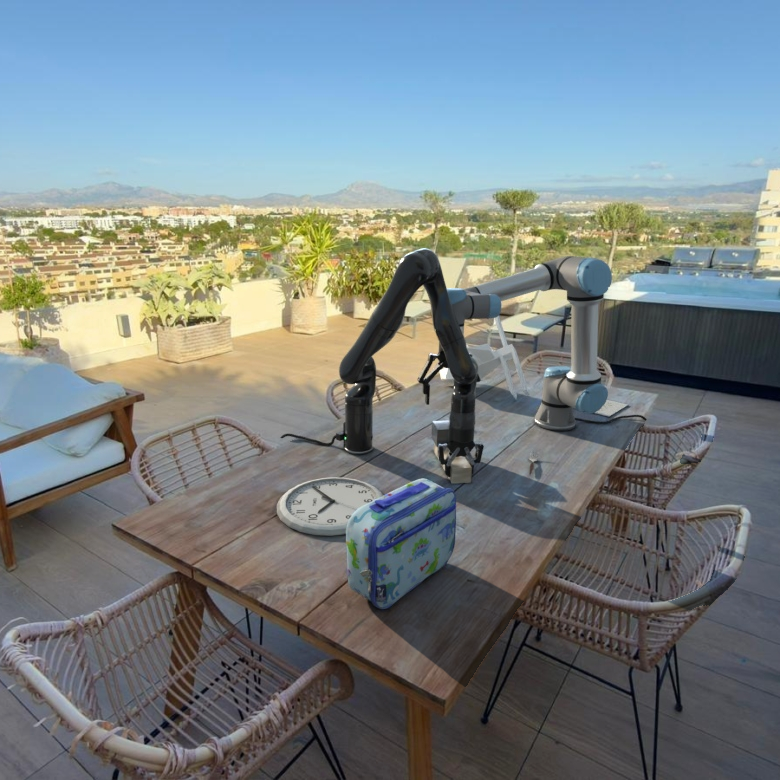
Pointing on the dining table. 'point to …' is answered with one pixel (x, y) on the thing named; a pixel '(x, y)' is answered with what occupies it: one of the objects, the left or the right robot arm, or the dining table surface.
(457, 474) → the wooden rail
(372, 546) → the lunch box
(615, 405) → the invitation card
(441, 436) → the slate block
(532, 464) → the fork
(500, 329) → the white plastic object
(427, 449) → the dining table surface
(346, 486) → the wall clock
